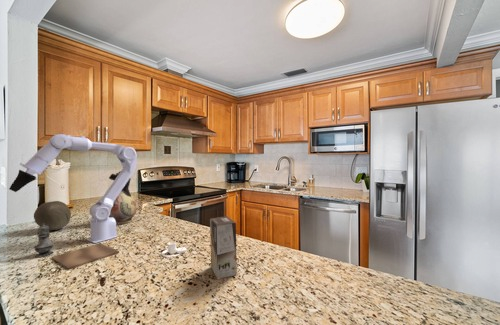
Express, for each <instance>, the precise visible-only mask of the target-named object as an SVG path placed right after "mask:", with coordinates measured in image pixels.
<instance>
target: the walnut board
mask: <svg viewBox="0 0 500 325" xmlns="http://www.w3.org/2000/svg"><path fill="white" fill-rule="evenodd" d="M119 253H120V250H118V249H115V248H113V247H110V246H108V245H106V244H103V243H101V242H98V243H94V244H92V245H89V246H86V247H82V248H77V249H75V250H71V251H67V252H63V253H60V254H57V255H53V256H51V260H53V261H55V262H56V263H58V264H59V265H61V266H62V267H64V268H65V269H67V270H68V271H69V270H73V269H75V268H79V267H81V266H84V265H87V264H89V263H93V262H95V261H99V260H102V259H105V258H108V257H111V256H113V255H117V254H119Z"/></svg>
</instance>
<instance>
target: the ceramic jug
mask: <svg viewBox="0 0 500 325" xmlns="http://www.w3.org/2000/svg"><path fill="white" fill-rule="evenodd" d="M120 172H121V170H119V171H118V172H115V173H116V174H115V173H111V174H110V175H109V176H108V179H109V180H111V181H114V180H115V179H116V177H117V176H118V175H119V173H120ZM130 183H131V177H130V179H129V180H128V182H127V183H126V185H125V186H124V187H123V189H122V190H121V192H120V193H119V195H118V196H117V198H116V199H115V201H114V202H113V207H112V208H111V211H110V215H109V218H111V217H113V218H114V219H115V221H116V225H124V224H127V223H130V222H132V221H133V217H134V216H135V214H136V213H137V202H136V200H135V198H134V196H133V195H132V193H131V192H130V189H129V188H130Z"/></svg>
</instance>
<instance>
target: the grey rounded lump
mask: <svg viewBox="0 0 500 325" xmlns="http://www.w3.org/2000/svg"><path fill="white" fill-rule="evenodd" d="M71 216H72V212H71V209H70V208H69V206H68V205H67V204H66V203H65V202H63V201H60V200H59V201H58V200H53V201H47V202H43V203H41V204H40V205H39V206H38V207H37V208H36V209H35V211H34V212H33V218H34V222H35V223H36V224H37V226H39V227H41V226H42V224H43V223H44V225H47V226H48V227H49V231H58V230H60V229H62V228H64V227H66V226H67V225H68V224H69V223H70V221H71V218H72V217H71Z"/></svg>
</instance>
